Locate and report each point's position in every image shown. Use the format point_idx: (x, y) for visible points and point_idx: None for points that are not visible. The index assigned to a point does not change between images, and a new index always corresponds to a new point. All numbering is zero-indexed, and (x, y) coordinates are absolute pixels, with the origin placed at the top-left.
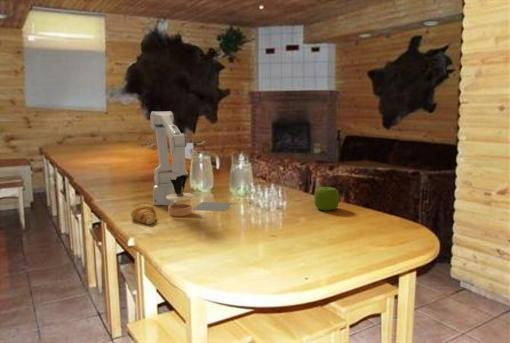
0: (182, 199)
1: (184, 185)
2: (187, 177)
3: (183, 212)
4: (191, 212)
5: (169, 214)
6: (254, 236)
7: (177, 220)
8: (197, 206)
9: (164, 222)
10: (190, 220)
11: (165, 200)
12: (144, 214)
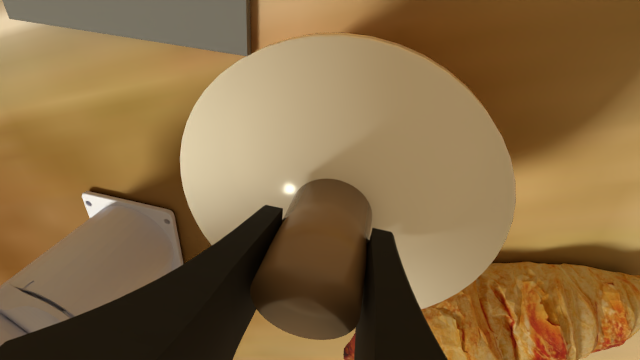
0: (510, 170)
1: (221, 256)
2: (17, 351)
3: None
4: None
5: None
6: None
7: (556, 125)
8: (149, 29)
9: (588, 206)
10: (597, 3)
11: (156, 256)
12: (591, 352)
